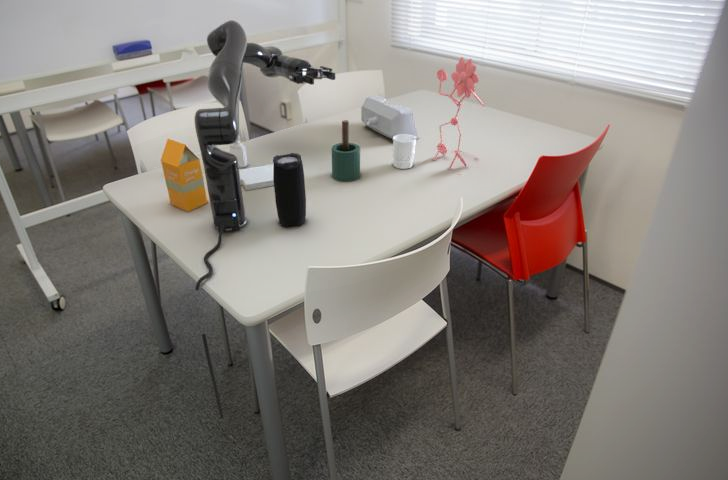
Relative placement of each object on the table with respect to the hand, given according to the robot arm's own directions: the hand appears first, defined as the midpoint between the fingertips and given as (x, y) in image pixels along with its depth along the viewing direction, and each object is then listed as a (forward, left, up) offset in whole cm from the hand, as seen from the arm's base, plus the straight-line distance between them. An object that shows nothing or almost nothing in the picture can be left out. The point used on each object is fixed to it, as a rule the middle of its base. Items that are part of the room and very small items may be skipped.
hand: (323, 78), depth 165 cm
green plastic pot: (-9, -6, -30) cm, 32 cm away
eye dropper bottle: (+5, +31, -30) cm, 44 cm away
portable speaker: (-39, +13, -30) cm, 51 cm away
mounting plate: (-8, +23, -30) cm, 39 cm away
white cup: (-3, -27, -30) cm, 41 cm away
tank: (+30, -26, -30) cm, 50 cm away
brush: (-9, -6, -29) cm, 31 cm away
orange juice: (-23, +45, -30) cm, 59 cm away
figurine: (-2, -47, -30) cm, 56 cm away
